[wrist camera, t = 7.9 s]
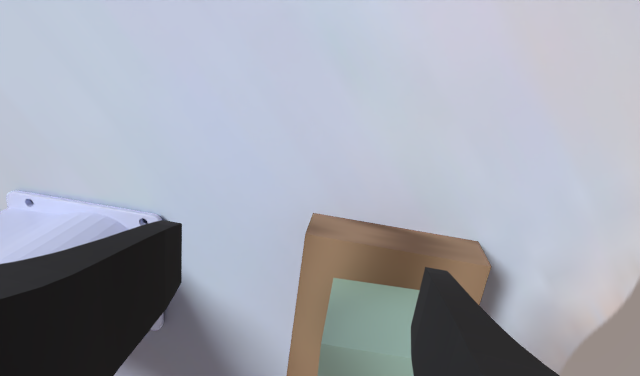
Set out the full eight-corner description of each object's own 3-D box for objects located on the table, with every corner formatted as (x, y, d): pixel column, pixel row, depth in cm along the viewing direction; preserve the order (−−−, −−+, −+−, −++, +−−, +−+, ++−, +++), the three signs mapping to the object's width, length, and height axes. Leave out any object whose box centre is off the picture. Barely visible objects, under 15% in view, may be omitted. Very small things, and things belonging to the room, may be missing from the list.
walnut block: (295, 341, 26) (286, 376, 24) (313, 210, 23) (305, 233, 21) (439, 369, 26) (447, 409, 23) (476, 239, 23) (491, 266, 20)
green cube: (324, 357, 23) (310, 437, 18) (333, 277, 21) (321, 343, 16) (417, 372, 22) (427, 459, 18) (433, 292, 21) (450, 364, 16)
